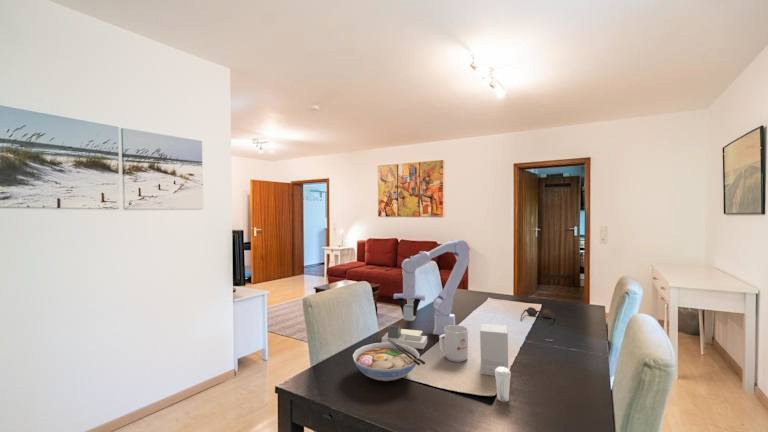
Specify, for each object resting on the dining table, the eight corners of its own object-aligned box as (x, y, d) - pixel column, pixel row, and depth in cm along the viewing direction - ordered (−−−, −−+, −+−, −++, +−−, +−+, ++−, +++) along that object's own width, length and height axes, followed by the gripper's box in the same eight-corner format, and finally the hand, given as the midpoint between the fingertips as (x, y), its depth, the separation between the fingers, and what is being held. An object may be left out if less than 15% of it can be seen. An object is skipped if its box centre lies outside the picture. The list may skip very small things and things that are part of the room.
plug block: (415, 317, 159) (415, 304, 159) (413, 320, 155) (413, 306, 155) (405, 317, 160) (405, 303, 160) (403, 320, 156) (403, 306, 156)
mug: (457, 351, 138) (457, 323, 137) (473, 359, 130) (472, 330, 130) (433, 357, 132) (432, 328, 132) (447, 366, 124) (447, 335, 124)
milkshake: (489, 395, 104) (489, 362, 104) (506, 394, 104) (506, 361, 104) (495, 403, 99) (495, 369, 99) (513, 402, 100) (513, 368, 100)
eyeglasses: (554, 319, 180) (554, 309, 180) (551, 327, 168) (551, 316, 168) (524, 315, 188) (524, 306, 188) (519, 322, 175) (519, 312, 175)
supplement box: (508, 367, 123) (507, 325, 123) (508, 378, 115) (508, 333, 115) (481, 363, 126) (481, 322, 126) (480, 374, 118) (479, 330, 118)
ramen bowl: (343, 367, 124) (342, 344, 124) (400, 356, 133) (400, 335, 133) (367, 401, 101) (367, 374, 101) (434, 386, 110) (434, 360, 110)
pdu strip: (427, 342, 148) (427, 326, 148) (423, 349, 140) (423, 332, 140) (387, 337, 153) (387, 322, 153) (381, 344, 146) (381, 328, 146)
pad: (422, 332, 161) (422, 330, 161) (417, 339, 151) (417, 338, 151) (401, 329, 164) (401, 328, 164) (396, 337, 154) (396, 336, 154)
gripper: (391, 286, 156) (391, 316, 156) (423, 288, 151) (423, 318, 151) (395, 283, 163) (396, 312, 163) (426, 284, 158) (426, 314, 158)
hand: (409, 315), depth 157 cm, fingers closed on plug block, 4 cm apart
